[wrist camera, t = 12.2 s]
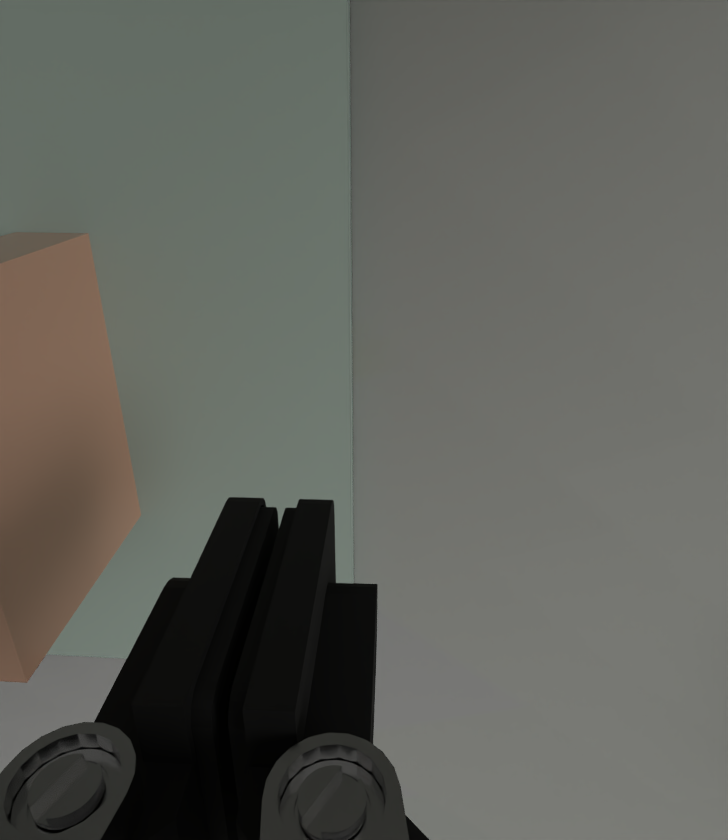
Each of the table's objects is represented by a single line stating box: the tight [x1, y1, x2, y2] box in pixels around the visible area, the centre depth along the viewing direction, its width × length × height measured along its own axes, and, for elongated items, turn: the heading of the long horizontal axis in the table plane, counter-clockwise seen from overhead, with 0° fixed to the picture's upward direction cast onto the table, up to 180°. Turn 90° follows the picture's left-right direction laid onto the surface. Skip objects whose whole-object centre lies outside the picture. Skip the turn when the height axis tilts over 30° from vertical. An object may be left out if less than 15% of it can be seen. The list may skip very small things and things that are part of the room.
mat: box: [0, 0, 354, 659], centre depth 17 cm, size 20×16×1 cm
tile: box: [0, 232, 141, 683], centre depth 14 cm, size 8×2×6 cm, turn 0°
